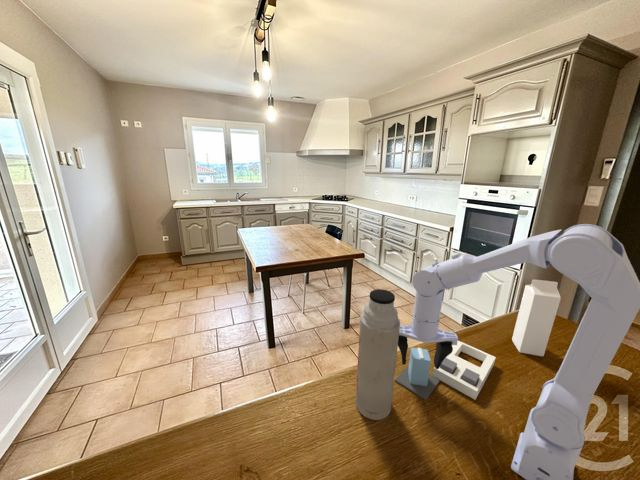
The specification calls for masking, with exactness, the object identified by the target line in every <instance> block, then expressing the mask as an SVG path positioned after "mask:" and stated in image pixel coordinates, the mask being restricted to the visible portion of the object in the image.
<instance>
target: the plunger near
mask: <svg viewBox="0 0 640 480" xmlns="http://www.w3.org/2000/svg"><path fill="white" fill-rule="evenodd" d="M479 376H480V375H479V374H477V373H475V372H473V371H471V370H469V369H467V368H466V369H465V371H464V373H463V374H462V378H461V379H462V380H464V381H466V382H467V383H469V384H471V385H473V386H475V387H476V386H477V384H478V380H479Z"/></svg>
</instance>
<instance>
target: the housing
mask: <svg viewBox="0 0 640 480" xmlns="http://www.w3.org/2000/svg"><path fill="white" fill-rule="evenodd" d="M452 347H453V351H452V353H451V354H449V355H448V356H447V357H446V358H447V359H449V360H451V361H453V362H455V363H457V367H456V371H455V372H454V374H451V373H449V372H447V371H445V370H443V369H441V368H440V367H439V369H436V368H435V366H434V367H433V370H432V371H433V372H432V376H433V377H435V378H437V379H439V380H440V382H442V383H444V384H446V385H448V386H449V387H451V388H453V389H455V390H457V391H458V392H460V393H462V394H464V395H465V396H468V397H469V398H471V399H473V400H474V401H475V400H476V399H477V397H478V396H479V394H480V392H481V390H482V388H483V386H484V384H485V382H486V381H487V379H488V377H489V375H490V373H491V371H492V369H493V367H494V366H495V362H496V358H497V357H496V356H494V355H492V354H489V353H487V352H485V351H483V350H480V349H479V348H476V347H474V346H471V345H470V344H468V343H465V342H462V341H460V340H458V342H457V345H452ZM461 351H462V352H461ZM460 353H463V354H467V356H471V357H473V358H474V359H477V360H479V361H480V362H482V364H481V365H480V366H478V365H476V364H474V363H472V362H470V361H467V360H465V359H464V358H461V357H460V356H459V355H460ZM466 368H467V369H469V370H471V371H473V372H475V373H477V374H479V375H480V376H479V380H478V384H477V386H476V387H475V386H473V385H471V384H469V383H467V382H466V381H464V380H462V379H461V378H462V374H463V373H464V371H465V369H466Z"/></svg>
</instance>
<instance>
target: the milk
mask: <svg viewBox="0 0 640 480" xmlns="http://www.w3.org/2000/svg"><path fill="white" fill-rule="evenodd" d="M530 283H531V284H525V286H524V290H523V294H522V298H521V303H520V306H519V310H518V314H517V317H516V322H515V325H514V330H513V334H512V337H511V340H512V341H511V342H512V343H513V344H514V346H515V348H516V349H517V351H518V353H520V354H527V355H532V356H537V357H544V356H545V353H546V349H547V346H548V344H549V343H548V342H549V340H550V335H551V333H552V329H553V326H554V323H555V319H556V317H557V311H558V309H559V306H560V302H561V299H562V297H561V295H560V292H559V289H558V285H559V283H558V282H557V281H550V280H541V279H532V280H531V282H530Z"/></svg>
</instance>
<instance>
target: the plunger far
mask: <svg viewBox="0 0 640 480" xmlns="http://www.w3.org/2000/svg"><path fill="white" fill-rule="evenodd" d="M456 367H457V363H455V362H453V361H451V360H449V359H447V358H445V359H444V360H443V362H442V363H441V365H440V368H441V369H443V370H445V371H447V372H449V373H451V374H454V372H455V371H456Z"/></svg>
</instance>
